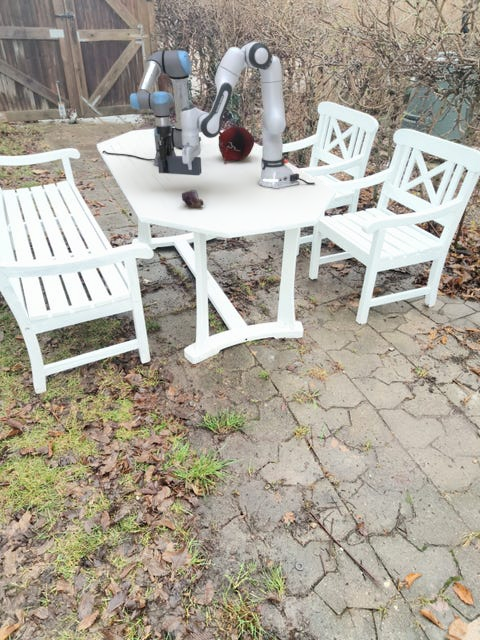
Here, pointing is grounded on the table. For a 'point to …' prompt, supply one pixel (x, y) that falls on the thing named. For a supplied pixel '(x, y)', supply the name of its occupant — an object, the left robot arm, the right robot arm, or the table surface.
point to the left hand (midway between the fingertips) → (167, 170)
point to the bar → (180, 166)
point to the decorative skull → (235, 143)
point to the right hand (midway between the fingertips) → (192, 167)
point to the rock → (192, 198)
